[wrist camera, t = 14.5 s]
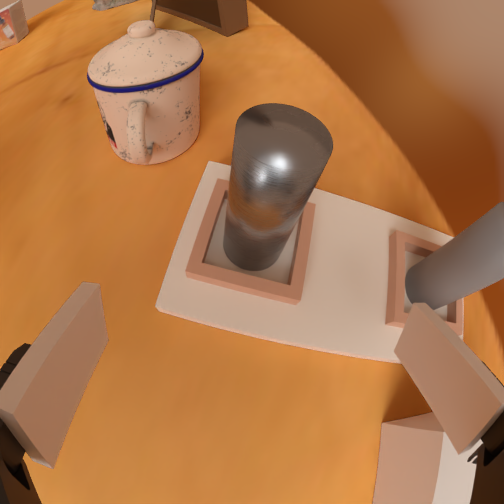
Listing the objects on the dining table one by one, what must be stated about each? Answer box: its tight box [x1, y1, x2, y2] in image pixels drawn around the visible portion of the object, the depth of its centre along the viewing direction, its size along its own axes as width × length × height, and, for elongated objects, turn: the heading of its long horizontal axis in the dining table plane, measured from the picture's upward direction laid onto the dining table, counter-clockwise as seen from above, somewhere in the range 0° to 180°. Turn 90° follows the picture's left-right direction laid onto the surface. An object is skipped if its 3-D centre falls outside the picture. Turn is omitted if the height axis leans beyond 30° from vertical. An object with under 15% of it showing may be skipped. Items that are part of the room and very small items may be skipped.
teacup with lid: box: [87, 20, 204, 165], centre depth 19 cm, size 12×9×12 cm
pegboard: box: [155, 161, 504, 364], centre depth 17 cm, size 24×12×12 cm, turn 77°
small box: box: [0, 0, 29, 50], centre depth 30 cm, size 8×6×10 cm
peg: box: [223, 103, 333, 271], centre depth 16 cm, size 4×4×10 cm
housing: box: [372, 412, 483, 504], centre depth 13 cm, size 8×8×7 cm
